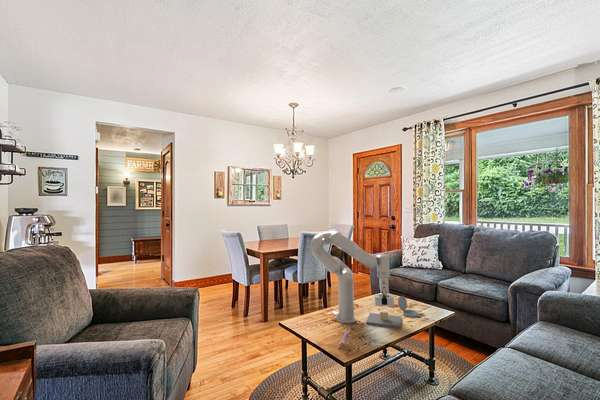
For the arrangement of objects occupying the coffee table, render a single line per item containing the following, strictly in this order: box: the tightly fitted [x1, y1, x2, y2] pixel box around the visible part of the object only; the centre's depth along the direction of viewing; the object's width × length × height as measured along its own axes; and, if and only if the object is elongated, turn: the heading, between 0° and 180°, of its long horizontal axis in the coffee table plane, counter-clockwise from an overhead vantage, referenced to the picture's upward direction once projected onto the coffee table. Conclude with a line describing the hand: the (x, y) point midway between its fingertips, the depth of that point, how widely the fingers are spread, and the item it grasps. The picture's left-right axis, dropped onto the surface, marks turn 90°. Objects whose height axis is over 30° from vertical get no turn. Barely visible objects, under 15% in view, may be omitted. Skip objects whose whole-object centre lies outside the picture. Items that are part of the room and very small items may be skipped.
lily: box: [336, 327, 355, 349], centre depth 152 cm, size 12×12×10 cm
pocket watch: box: [397, 295, 423, 318], centre depth 193 cm, size 10×11×15 cm
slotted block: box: [374, 293, 395, 307], centre depth 183 cm, size 11×7×5 cm, turn 77°
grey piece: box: [365, 310, 402, 330], centre depth 182 cm, size 20×16×6 cm
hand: (384, 302), depth 183 cm, fingers closed on slotted block, 7 cm apart
